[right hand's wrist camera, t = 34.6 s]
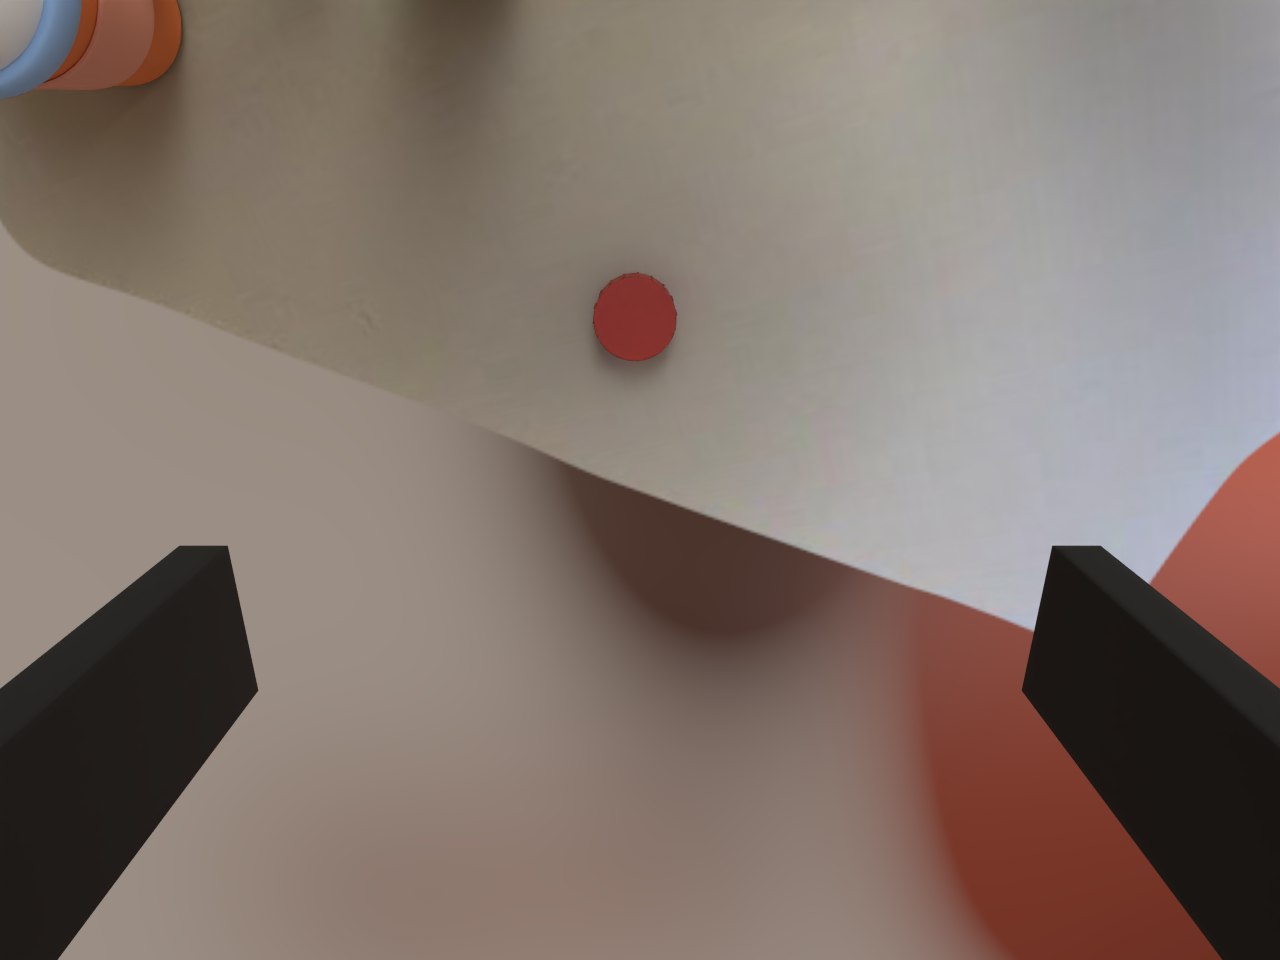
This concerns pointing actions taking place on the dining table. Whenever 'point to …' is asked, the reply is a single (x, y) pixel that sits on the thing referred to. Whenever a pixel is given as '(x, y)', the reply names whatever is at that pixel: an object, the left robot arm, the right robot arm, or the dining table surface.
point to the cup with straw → (85, 43)
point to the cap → (634, 317)
